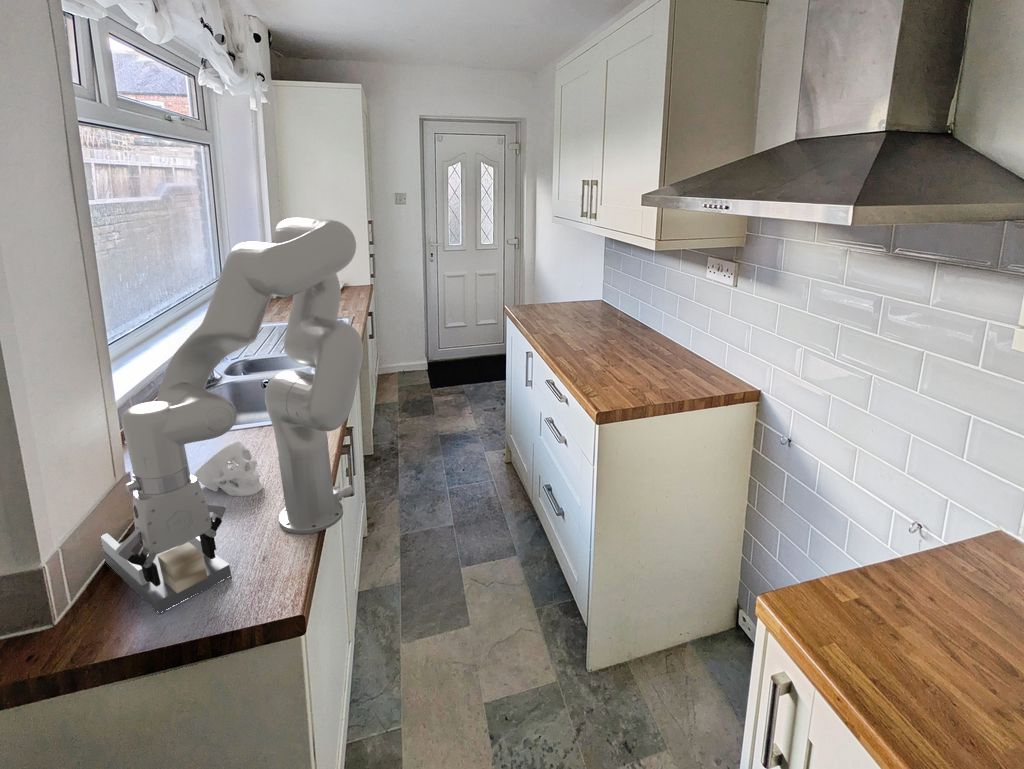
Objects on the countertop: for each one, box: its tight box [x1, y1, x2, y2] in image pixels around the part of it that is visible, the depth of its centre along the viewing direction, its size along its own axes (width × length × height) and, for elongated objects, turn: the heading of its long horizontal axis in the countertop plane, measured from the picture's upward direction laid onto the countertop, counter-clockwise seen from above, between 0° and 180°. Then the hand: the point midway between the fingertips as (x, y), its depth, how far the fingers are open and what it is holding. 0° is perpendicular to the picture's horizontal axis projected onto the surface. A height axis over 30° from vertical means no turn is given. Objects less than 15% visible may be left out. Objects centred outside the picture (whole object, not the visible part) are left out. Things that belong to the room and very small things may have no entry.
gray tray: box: [100, 532, 232, 614], centre depth 104 cm, size 22×12×6 cm, turn 53°
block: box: [158, 542, 208, 593], centre depth 97 cm, size 5×5×5 cm
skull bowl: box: [193, 439, 264, 497], centre depth 131 cm, size 10×14×12 cm
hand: (182, 568), depth 99 cm, fingers open, 8 cm apart
